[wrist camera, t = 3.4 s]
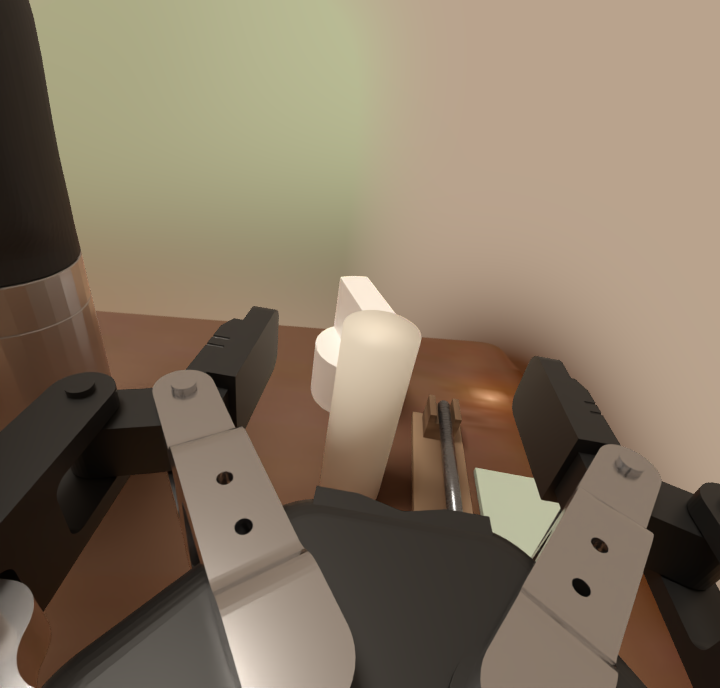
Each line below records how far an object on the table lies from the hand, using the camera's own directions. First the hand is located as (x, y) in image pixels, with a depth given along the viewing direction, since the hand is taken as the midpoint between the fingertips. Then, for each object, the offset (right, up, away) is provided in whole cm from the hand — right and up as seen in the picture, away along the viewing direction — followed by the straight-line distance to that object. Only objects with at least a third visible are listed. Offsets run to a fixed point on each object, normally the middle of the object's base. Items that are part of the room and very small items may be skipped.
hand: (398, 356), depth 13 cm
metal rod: (+6, -11, +21) cm, 24 cm away
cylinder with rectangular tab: (-2, -5, +33) cm, 34 cm away
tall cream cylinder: (-2, -12, +22) cm, 25 cm away
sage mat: (+13, -15, +22) cm, 30 cm away
